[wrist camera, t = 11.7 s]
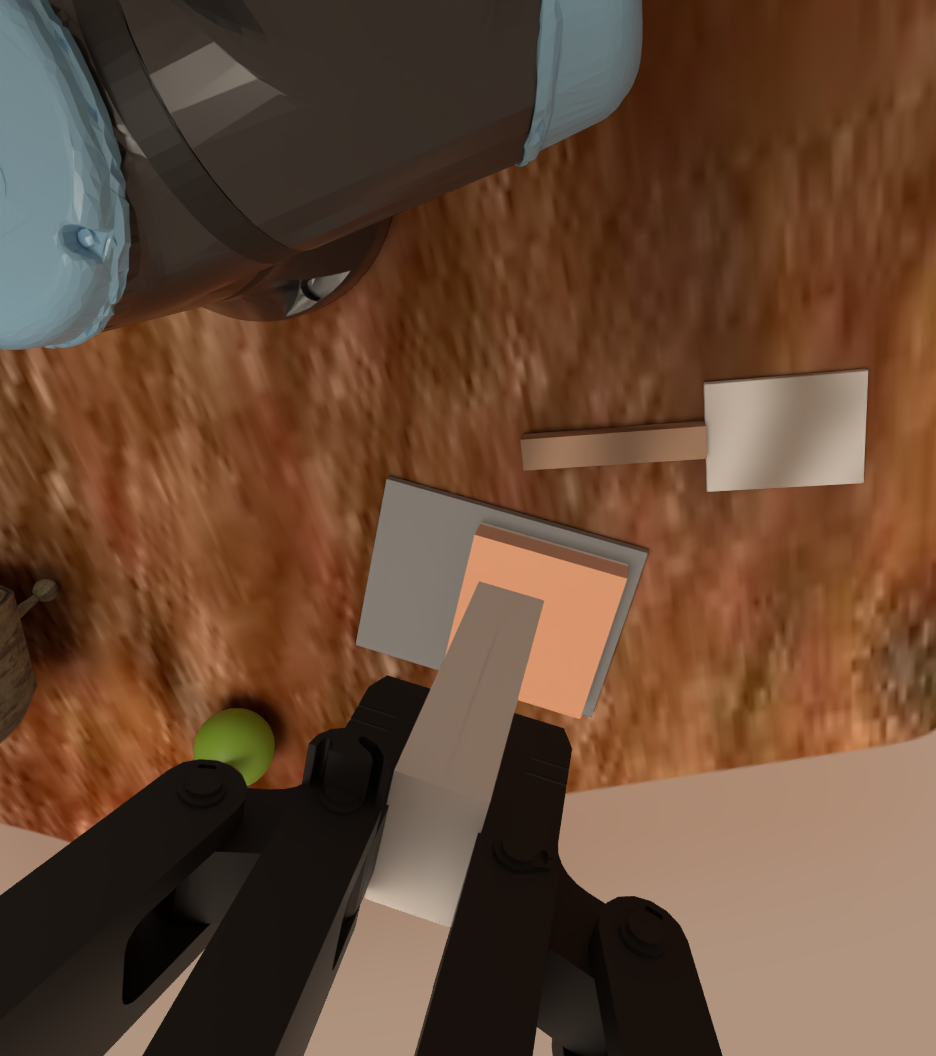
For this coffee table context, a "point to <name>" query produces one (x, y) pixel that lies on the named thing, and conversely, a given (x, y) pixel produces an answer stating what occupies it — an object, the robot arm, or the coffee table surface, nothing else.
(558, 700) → the tile
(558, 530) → the mat
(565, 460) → the turner
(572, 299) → the coffee table surface
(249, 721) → the snail figurine
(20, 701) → the tabletop clock
